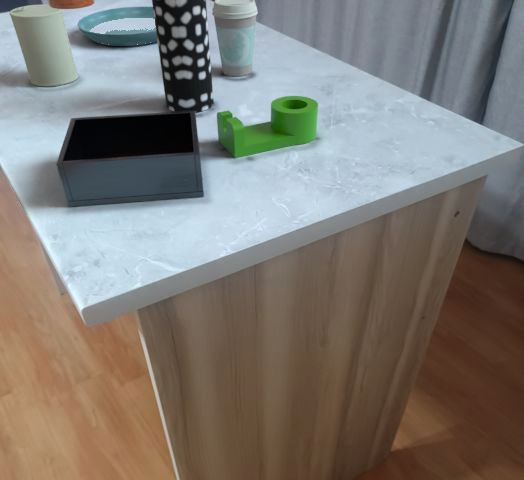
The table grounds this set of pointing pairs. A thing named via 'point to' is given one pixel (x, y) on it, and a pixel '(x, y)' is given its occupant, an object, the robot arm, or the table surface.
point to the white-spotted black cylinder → (184, 53)
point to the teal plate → (119, 36)
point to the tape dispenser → (270, 127)
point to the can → (44, 45)
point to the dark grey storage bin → (131, 158)
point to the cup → (70, 4)
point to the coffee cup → (235, 34)
